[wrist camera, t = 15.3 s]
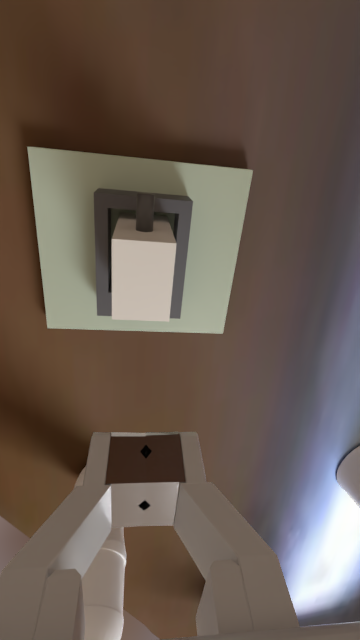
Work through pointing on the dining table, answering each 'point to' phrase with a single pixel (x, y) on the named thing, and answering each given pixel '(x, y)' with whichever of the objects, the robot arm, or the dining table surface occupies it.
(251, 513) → the dining table surface
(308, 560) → the dining table surface
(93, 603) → the water bottle
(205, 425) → the dining table surface
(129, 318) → the keyed plug
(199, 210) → the socket board
